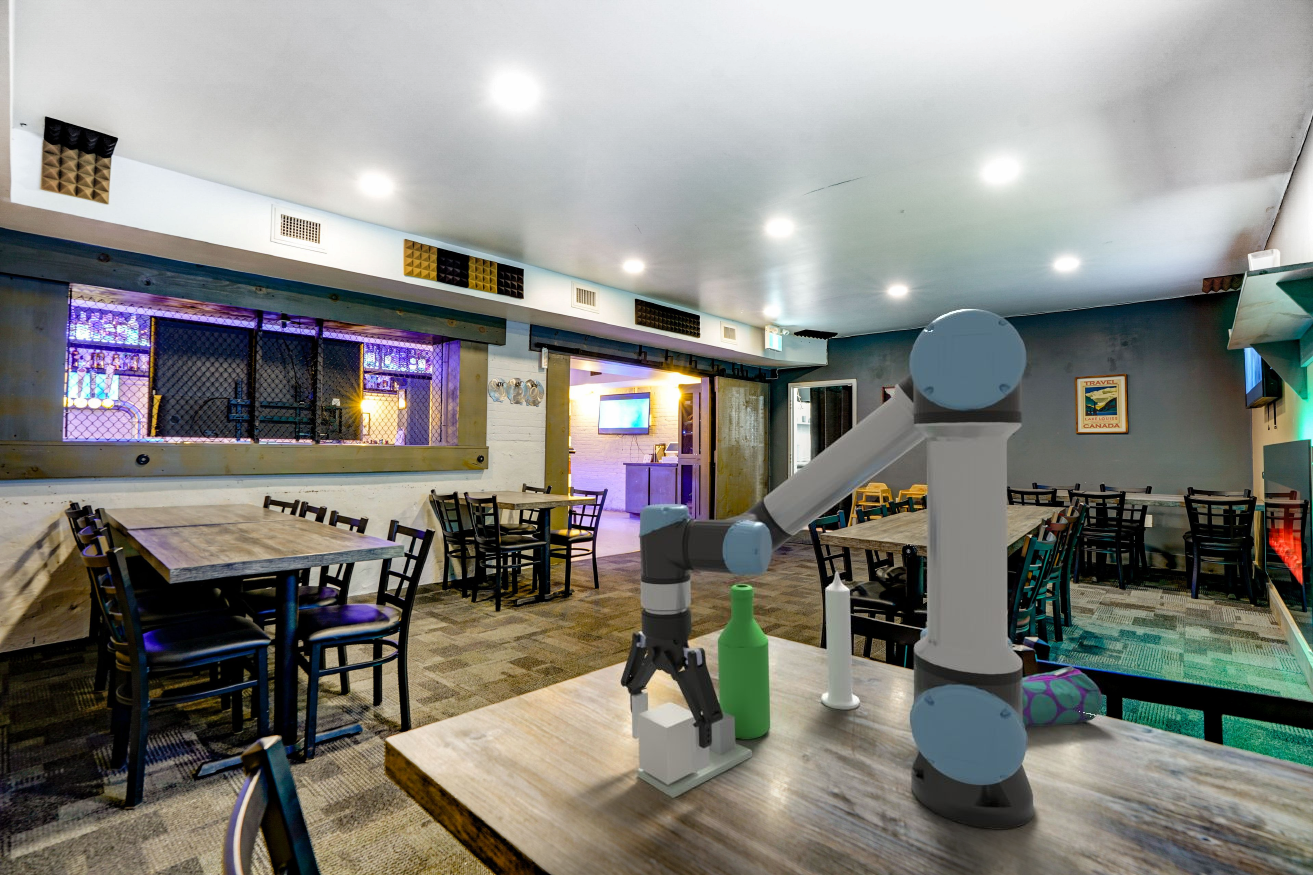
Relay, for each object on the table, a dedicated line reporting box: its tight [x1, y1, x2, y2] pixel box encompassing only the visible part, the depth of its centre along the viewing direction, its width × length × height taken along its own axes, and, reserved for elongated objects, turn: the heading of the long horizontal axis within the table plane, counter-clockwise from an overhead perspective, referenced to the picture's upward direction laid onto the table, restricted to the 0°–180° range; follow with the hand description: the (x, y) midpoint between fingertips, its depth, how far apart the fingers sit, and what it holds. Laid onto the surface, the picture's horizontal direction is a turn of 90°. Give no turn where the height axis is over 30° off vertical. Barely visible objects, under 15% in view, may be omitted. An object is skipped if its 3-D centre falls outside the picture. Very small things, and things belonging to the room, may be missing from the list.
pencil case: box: [1022, 665, 1103, 728], centre depth 107 cm, size 21×9×10 cm, turn 102°
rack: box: [636, 712, 753, 799], centre depth 95 cm, size 8×17×6 cm, turn 131°
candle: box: [820, 571, 860, 711], centre depth 118 cm, size 7×7×25 cm
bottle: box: [717, 583, 771, 740], centre depth 107 cm, size 9×9×25 cm
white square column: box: [638, 701, 696, 785], centre depth 92 cm, size 6×6×8 cm
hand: (669, 750), depth 92 cm, fingers open, 13 cm apart
